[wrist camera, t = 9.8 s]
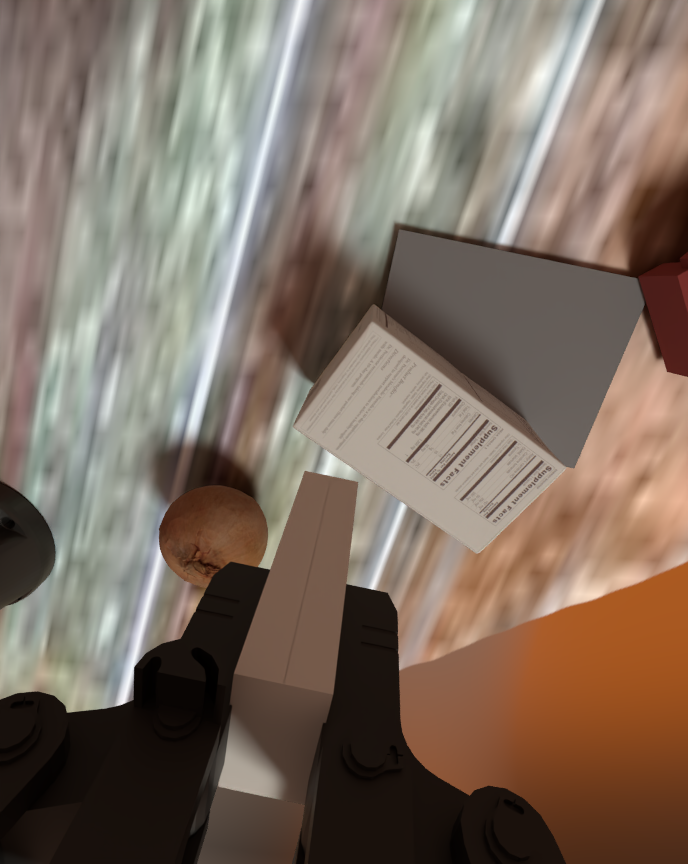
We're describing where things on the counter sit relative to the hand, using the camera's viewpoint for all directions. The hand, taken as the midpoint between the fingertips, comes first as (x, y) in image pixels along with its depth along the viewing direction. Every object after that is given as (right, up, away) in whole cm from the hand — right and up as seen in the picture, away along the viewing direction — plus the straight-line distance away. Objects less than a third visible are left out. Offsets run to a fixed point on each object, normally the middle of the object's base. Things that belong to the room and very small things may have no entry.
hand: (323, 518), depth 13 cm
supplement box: (0, +8, +22) cm, 23 cm away
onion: (-11, -5, +34) cm, 36 cm away
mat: (+13, +9, +26) cm, 30 cm away
